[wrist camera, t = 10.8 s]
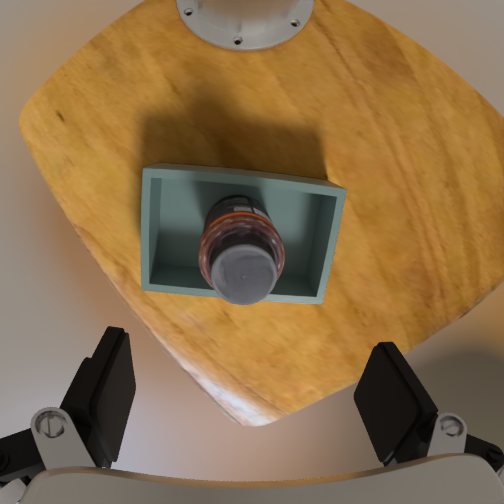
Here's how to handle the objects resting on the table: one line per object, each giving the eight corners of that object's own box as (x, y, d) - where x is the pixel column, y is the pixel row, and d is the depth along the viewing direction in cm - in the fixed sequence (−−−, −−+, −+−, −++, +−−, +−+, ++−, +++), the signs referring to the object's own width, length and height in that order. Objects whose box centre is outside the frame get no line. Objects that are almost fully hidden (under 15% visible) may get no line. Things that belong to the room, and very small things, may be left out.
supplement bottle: (224, 265, 30) (222, 334, 20) (193, 211, 28) (172, 257, 18) (280, 237, 30) (308, 294, 19) (252, 181, 28) (266, 209, 17)
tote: (157, 162, 27) (142, 168, 22) (328, 180, 29) (346, 189, 24) (153, 267, 31) (141, 290, 26) (309, 280, 32) (322, 304, 28)
